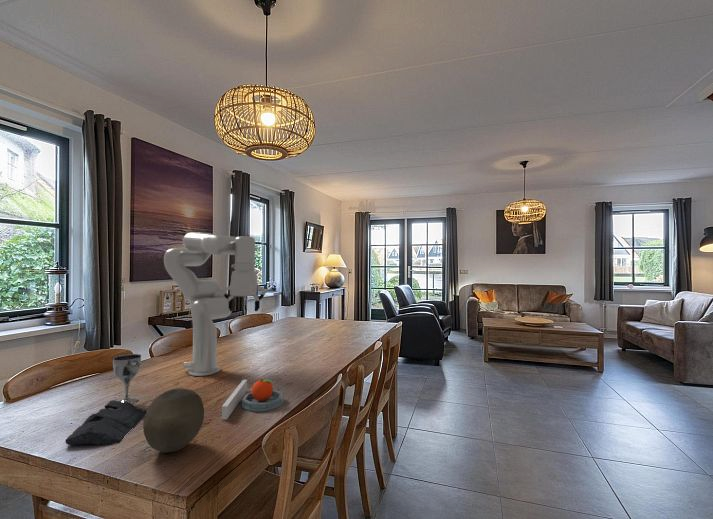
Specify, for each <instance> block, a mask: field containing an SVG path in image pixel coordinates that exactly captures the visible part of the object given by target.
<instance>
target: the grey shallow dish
mask: <svg viewBox="0 0 713 519" xmlns="http://www.w3.org/2000/svg"><path fill="white" fill-rule="evenodd" d="M283 404H284V393H283V392H280V391H278V390H276V389H273V393H272V395H271V397H270V398H269V399H267V400H266V401H257V400H256V399H255V398H254V397H253V395H252V391H251V392H248V393H247V392H246V393H245V394H244V396H243V397H242V399H241V408H242V409H244V410H245V411H247V412H252V413H253V412H254V413H259V412H260V413H263V412H269V411H274V410H276V409H278V408H280V407H281V406H282V405H283Z"/></svg>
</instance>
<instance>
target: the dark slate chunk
mask: <svg viewBox="0 0 713 519" xmlns="http://www.w3.org/2000/svg"><path fill="white" fill-rule="evenodd" d="M146 412H147V410H145V409H143V408H137V407H136V406H135V405H134V404H131V403H128V402H119V401H118V400H116V399H114V400H110V401H109V402H108V403H107V404H106V405H104V408H101V409H99V410H98V412H95V413H92V414H91V415H90V416H88V417H87V418H86V419H85V420H84V422H83V423H82V424H81V425H80V426H78V427H77V428H76V429H75V430H74V431H73V432H72V434H70V435H69V436H67V438H65V444H66V445H68V446H74V445H88V444H89V445H112V444H111V443H114V444H116V443H115V442H117V443H120V441H121V440H122V439H123V438H124V436H125V435H126V434H127V433H128V432H129V431H130V430H131V429H132V428H133V429H135V427H136V426H137V425H138V424H139V423H140V421H142V419H143V418H144V417H145V416H144V415H146ZM143 416H144V417H143ZM142 417H143V418H142ZM137 423H138V424H137ZM133 429H132V430H133ZM132 430H131V431H132ZM131 431H130V432H131ZM128 434H129V433H128ZM126 436H127V435H126ZM124 439H125V438H124ZM124 439H123V440H124ZM123 440H122V441H123ZM122 441H121V442H122Z"/></svg>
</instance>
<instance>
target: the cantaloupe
mask: <svg viewBox="0 0 713 519" xmlns="http://www.w3.org/2000/svg"><path fill="white" fill-rule="evenodd" d="M143 418H144V419H143V426H142V427H143V428H142V429H143V434H144V437H145V440H146V442H147V443H148V445H149V446H150V447H151V448H152V449H154V450H156V452H160V453H165V454H167V453H173V452H177V451H180V450H181V449H183V448H185V447H186V446H188V445H189V444H190V442H192V441H193V440H194V439H195V438H196V437H197V435H198V433H199V432H200V431H201V428H202V426H203V422H204V418H205V408H204V403H203V400H202V398H201V396H200V395H199V394H198V392H196V391H195V390H193V389H189V388H171V389H169V390H166V391H163V392H162V393H161V394H159V395H158V396H156V397H154V399H153V400H152V402H151V403H150V405H149V406H148V408H147V410H146V414H145V416H144V417H143Z"/></svg>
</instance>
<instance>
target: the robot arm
mask: <svg viewBox="0 0 713 519" xmlns="http://www.w3.org/2000/svg"><path fill="white" fill-rule="evenodd" d="M182 244H183V246H184V247H172V248H169V249H167V250H166V251H165V253H164V254H163V255H164V256H163V265H164V268H165V270H166V272H167V273H168V275H169V276H170V278H172V279H173V280H174V282H175V283H176V284H177V287H178V288H179V289H180V291H181V293H182V295H183V296H184V298H185V300H187V301H188V302H190V303H191V307H190V315H191V320H192V361H184V362H183V363H182V366H183V368H189V369H188V371H187V372H188V375H190V376H195V377H204V376H212V375H214V374H217V373H219V372H220V371H221V367H220V366H219V365H218V364H217V356H218V355H217V354H218V353H217V352H218V351H217V348H218V344H217V343H218V341H217V340H218V338H217V337H218V329H217V327H216V325H215V323H214V322H213V320H218V319H225V318H227V317H229V316H230V315H231V314H232V312H234V309H235V301H234V299H235V297H243V298H244V297H246V298H247V297H249V298H250V297H252V298H254V299H255V301H254V311H255V312H258V311H259V309H260V306H261V305H260V301H261V300H262V299H263V298H264V297H265V295H266V293H267V291H268V290H267V289H266V288H264V287H262V286H260V285H259V281H258V275H257V274H258V273H257V271H256V268H255V265H256V263H255V262H256V240H255V238H254V237H252V236H249V235H248V236H246V235H240V236H232V235H221V234H220V235H219V234H218V235H216V234H215V233H210V232H199V231H192V232H189V233H186V234H185V235H184V236H183V238H182ZM211 255H218V256H219V255H224V256H225V255H229V256H234V263H233V264H230V268H232V269H233V270H234V271H233V270H232V272H231V276H230V277H231V279H230V285H229V286H225V287H224V288H223V287H222V286H221V285H220V284H219V283H218V282H217V281H215V280H201V279H199V278H198V276H196V274H195V272H194V271H192V270H191V269H190V268H187V267H200V266H202V265H204V264H205V263H206V262H207V260H209V258H210V257H211ZM228 291H229V293H228ZM259 291H260V292H261V293H260V295H259V294H258V293H259Z"/></svg>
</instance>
